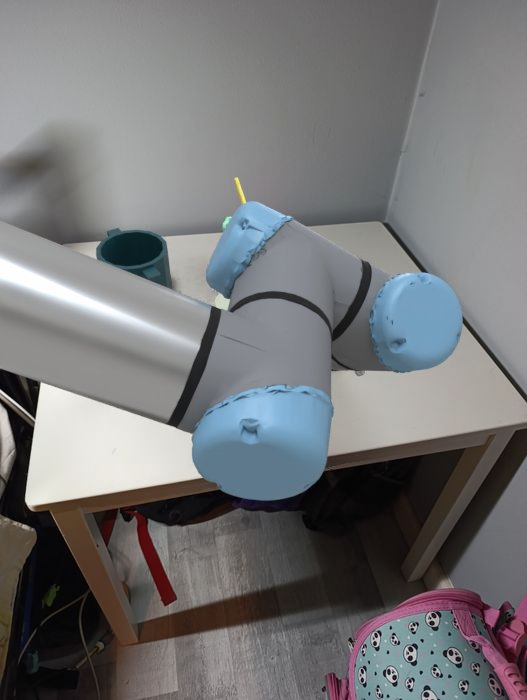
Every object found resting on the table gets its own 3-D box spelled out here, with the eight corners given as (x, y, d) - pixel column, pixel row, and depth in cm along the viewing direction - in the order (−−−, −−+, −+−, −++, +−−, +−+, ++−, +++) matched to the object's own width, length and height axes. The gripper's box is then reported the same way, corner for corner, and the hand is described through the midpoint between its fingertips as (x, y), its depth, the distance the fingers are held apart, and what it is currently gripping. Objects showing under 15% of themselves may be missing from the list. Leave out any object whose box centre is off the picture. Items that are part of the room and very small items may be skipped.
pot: (128, 327, 90) (120, 285, 83) (90, 276, 100) (79, 235, 93) (190, 303, 95) (186, 261, 89) (147, 257, 106) (141, 217, 99)
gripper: (232, 405, 48) (192, 394, 68) (443, 339, 55) (351, 347, 76) (211, 328, 47) (178, 341, 67) (426, 273, 55) (339, 299, 75)
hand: (269, 344), depth 72 cm, fingers open, 13 cm apart
